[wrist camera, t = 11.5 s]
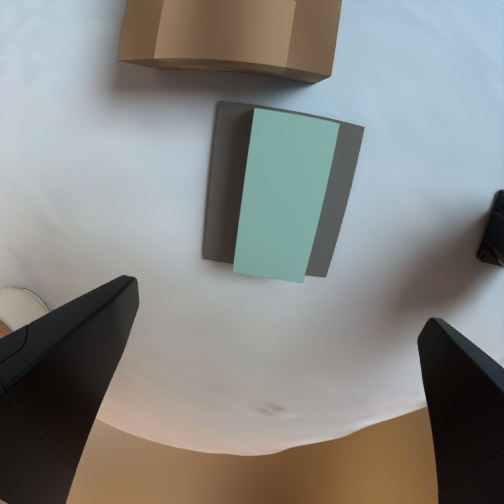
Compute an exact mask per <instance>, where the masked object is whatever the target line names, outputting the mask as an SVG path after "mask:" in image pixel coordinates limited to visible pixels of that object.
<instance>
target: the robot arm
mask: <svg viewBox="0 0 504 504" xmlns="http://www.w3.org/2000/svg"><path fill="white" fill-rule="evenodd" d="M503 196H504V190H501V191H500V193H499V195H498V198H497V201H496V205H495V208H494V211H493V213H492V216H491V219H490V222H489V225H488V227H487V230H486V233H485V235H484V238H483V240H482V243H481V245H480V247H479V250H478V252H477V259H478V260H479V261H482V262H486V263H490V264H495V265H499V266H503V267H504V197H503ZM481 255H482V256H481ZM138 307H139V292H138V282H137V279H136V278H135V277H132V276H127V275H122V276H120V277H118V278H116V279H114V280H112V281H110V282H108V283H106V284H104V285H102V286H100V287H98V288H96V289H94V290H92V291H90V292H88V293H86V294H84V295H82V296H80V297H78V298H76V299H74V300H72V301H70V302H68V303H66V304H64V305H63V306H61V307H59V308H57V309H55V310H53V311H51V312H49V313H47V314H45V315H44V316H42V317H40V318H38V319H36V320H34V321H32V322H30V324H27V325H25V326H23V327H21V328H19V329H17V330H16V331H14V332H12V333H10V334H8V335H6V336H4V337H2V338H0V504H66V501H67V498H68V494H69V491H70V488H71V485H72V482H73V478H74V476H75V473H76V469H77V466H78V463H79V461H80V458H81V455H82V452H83V449H84V447H85V444H86V441H87V438H88V436H89V433H90V431H91V428H92V425H93V423H94V420H95V418H96V415H97V413H98V410H99V408H100V405H101V403H102V400H103V398H104V396H105V393H106V391H107V388H108V386H109V384H110V381H111V379H112V377H113V374H114V372H115V370H116V368H117V365H118V363H119V361H120V359H121V356H122V354H123V352H124V349H125V346H126V343H127V340H128V337H129V334H130V331H131V328H132V325H133V322H134V319H135V316H136V313H137V310H138ZM417 344H418V351H419V357H420V364H421V372H422V380H423V386H424V391H425V396H426V401H427V406H428V411H429V417H430V423H431V429H432V437H433V443H434V451H435V461H436V471H437V481H438V482H437V483H438V491H439V492H438V504H504V368H503V367H502V366H500V365H499V364H498V363H497V362H496V361H494V360H493V359H492V358H491V357H490V356H488V355H487V354H486V353H485V352H483V351H482V350H481V349H480V348H478V347H477V346H476V345H475V344H473V343H472V342H471V341H470V340H468V339H467V338H466V337H465V336H463V335H462V334H461V333H460V332H458V331H457V330H456V329H454V328H453V327H452V326H450V325H449V324H448V323H447V322H445V321H444V320H443V319H441V318H434V317H432V318H429V319H428V321H427V322H426V324H425V326H424V327H423V329H422V331H421V333H420V334H419V336H418V340H417Z"/></svg>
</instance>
